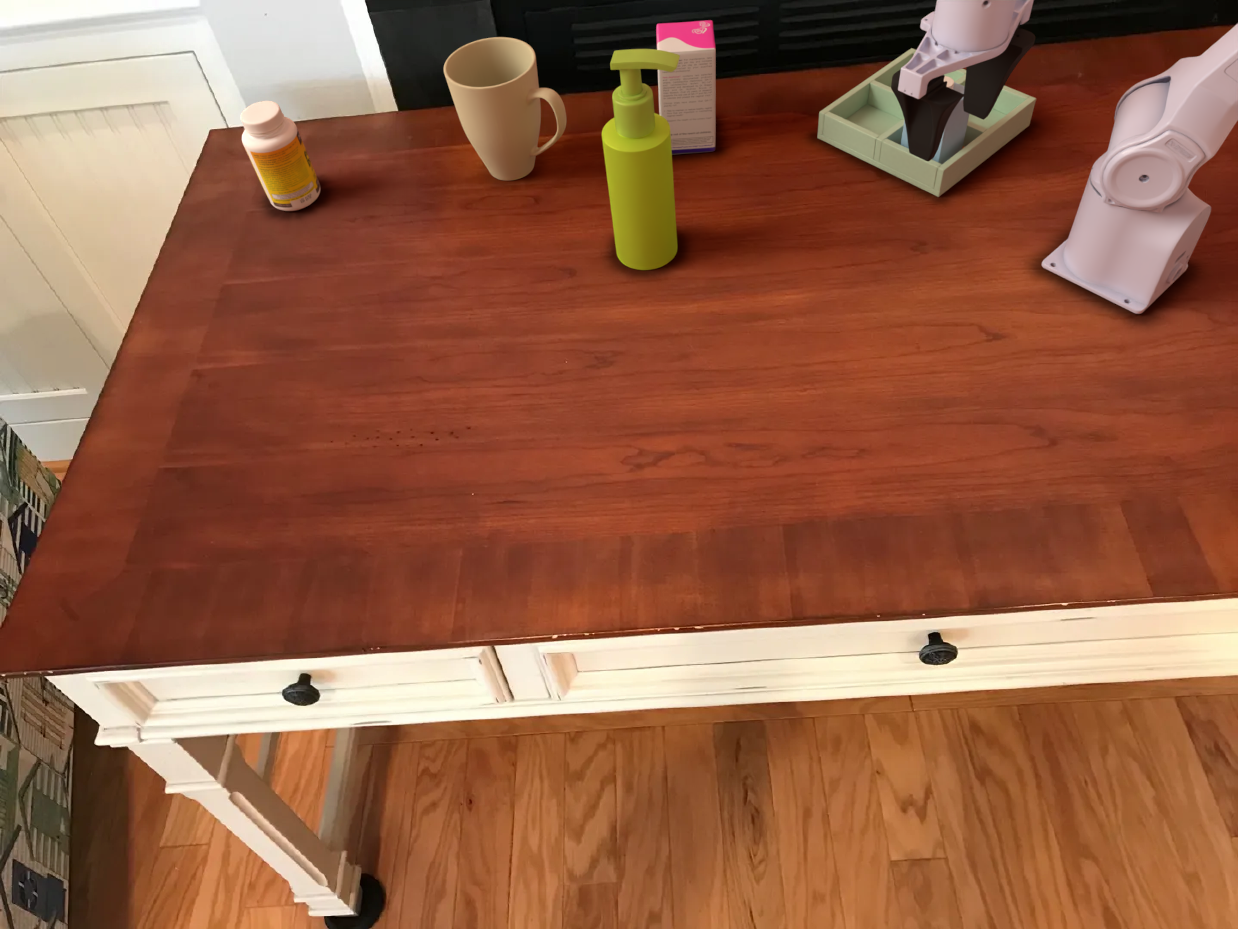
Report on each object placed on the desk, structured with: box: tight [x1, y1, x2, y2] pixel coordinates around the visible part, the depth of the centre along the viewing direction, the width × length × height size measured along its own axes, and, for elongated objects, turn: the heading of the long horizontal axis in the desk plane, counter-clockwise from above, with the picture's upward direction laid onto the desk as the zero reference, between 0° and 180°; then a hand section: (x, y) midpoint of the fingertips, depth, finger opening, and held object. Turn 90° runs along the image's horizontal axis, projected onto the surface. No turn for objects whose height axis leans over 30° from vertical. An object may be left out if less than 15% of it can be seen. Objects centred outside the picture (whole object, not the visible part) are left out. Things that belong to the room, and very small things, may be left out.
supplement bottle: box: [240, 100, 322, 212], centre depth 101 cm, size 6×6×10 cm
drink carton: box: [901, 76, 969, 164], centre depth 94 cm, size 4×4×8 cm
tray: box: [816, 47, 1037, 198], centre depth 100 cm, size 15×15×3 cm
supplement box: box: [655, 19, 717, 156], centre depth 100 cm, size 6×6×12 cm
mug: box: [443, 36, 567, 182], centre depth 99 cm, size 11×10×12 cm
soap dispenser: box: [601, 48, 680, 271], centre depth 86 cm, size 6×7×20 cm
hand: (948, 134), depth 84 cm, fingers open, 7 cm apart
